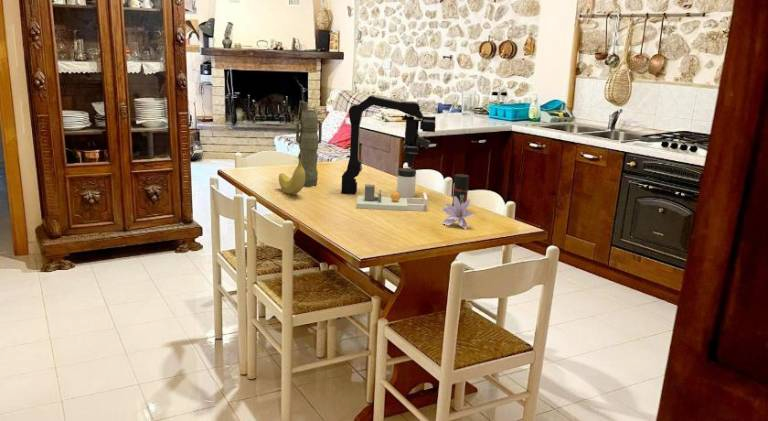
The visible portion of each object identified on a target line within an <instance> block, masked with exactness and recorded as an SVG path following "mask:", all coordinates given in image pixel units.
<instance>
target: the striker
mask: <svg viewBox="0 0 768 421" xmlns="http://www.w3.org/2000/svg"><path fill="white" fill-rule="evenodd" d="M375 187H376V185H375V184H365V185H364V196H365V198H364V200H365V201H374V200H377V201H378V202H381V197H382V189H378V196H377V197H374V196H375V190H376V189H375Z"/></svg>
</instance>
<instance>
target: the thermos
mask: <svg viewBox="0 0 768 421" xmlns="http://www.w3.org/2000/svg"><path fill="white" fill-rule="evenodd" d="M295 126H296V127H295V142H296V143H297V144H298V148H299V153H302V159H301V164H302V167H303V169H304V171H305V183H304V186H305V187H304V188H312V187H311V186H315V187H317V186H318V179H319V178H318V177H319V176H318V175H319V172H318V169H317V168H318V167H317V165H318V164H317V163H318V150H319V144H321V143H322V139H323V138H322V134H323V133H322V131H323V130H322V129H323V124H322V122H321V121H320V120H318V114H317V111H315V110H312V109H304V110H302V113H301V116H300V119H299V120H297V122H296V124H295ZM316 185H317V186H316Z"/></svg>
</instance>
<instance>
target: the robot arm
mask: <svg viewBox="0 0 768 421" xmlns="http://www.w3.org/2000/svg"><path fill="white" fill-rule="evenodd" d="M372 106H376V107H381V108H386V109H389V110H395V111H399V112H401V113H404V114H405V115H404V116H403V117H402V118H401V120H402V121H405V130H404V141H403V142H402V148H403V153H404V154H403V155H404V157H405V161H406V164H407V168H411V169H412V164H413V163H414V158H415V157H416V156H417V155H418V154H419V151H420V149H419V147H418V146H421V147H423V148H424V149H429V147H430V144H431V140H428V136H425V135H424V136H422V137H421V136H420V135H419V130H420V131H422V132H423V133H424V132H425V133H436V125H437V124H436V116H426V115H425V116H424V115H423V113H422V111H421V105H420V104H419V102H416V101H408V100H407V101H405V100H403V101H399V100H394V99H390V98H389V99H388V98H385V97H379V96H376V95H373V94H372V95H369V96H368V97H367V98H366V99H364V100H363V101H362V102H359V103H356V104H353V105H351V106H350V107H349V109H348V115H349V123H350V147H349V148H350V149H349V159H348V163H347V168H346V170H345V171H344V172H343V174H342V175H341V190H340V194H345V195H355V194H356V193H357V192H358V182H357V179H356V178H357V177H358V176H359V174H360V172H362V170H363V167H362V166H363V159H360V155H359V154H360V130H361V129H360V128H361V126H360V125H361V122H362V117H363V114H364V112H365V111H366V110H367V109H369V108H371V107H372ZM415 117H416V118H415Z"/></svg>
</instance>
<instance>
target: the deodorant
mask: <svg viewBox="0 0 768 421" xmlns="http://www.w3.org/2000/svg"><path fill="white" fill-rule="evenodd" d="M469 181H470V175H468V174H462V173H456V174H454V182H453V192H452V200H453V199H454V197H455V196H456V197H457V198H458V200H459V202H460V205H461V204H462V203H465V202H466V201H467V200H468V192H469ZM451 205H452V206H454V203H453V202H452V203H451Z"/></svg>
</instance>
